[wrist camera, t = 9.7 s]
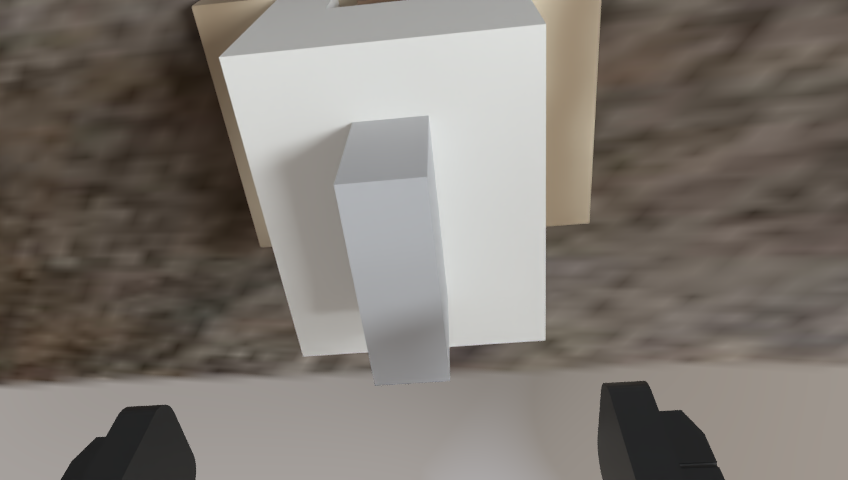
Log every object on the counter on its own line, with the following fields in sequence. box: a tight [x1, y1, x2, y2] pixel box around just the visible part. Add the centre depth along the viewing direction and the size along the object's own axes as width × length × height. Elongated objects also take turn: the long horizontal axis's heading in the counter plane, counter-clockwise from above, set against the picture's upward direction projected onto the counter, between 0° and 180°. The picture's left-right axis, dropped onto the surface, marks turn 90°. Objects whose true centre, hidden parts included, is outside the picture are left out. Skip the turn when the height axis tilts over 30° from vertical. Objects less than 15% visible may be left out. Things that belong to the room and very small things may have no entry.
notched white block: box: [219, 0, 546, 386], centre depth 19 cm, size 8×10×10 cm
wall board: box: [192, 0, 601, 247], centre depth 23 cm, size 14×10×4 cm
